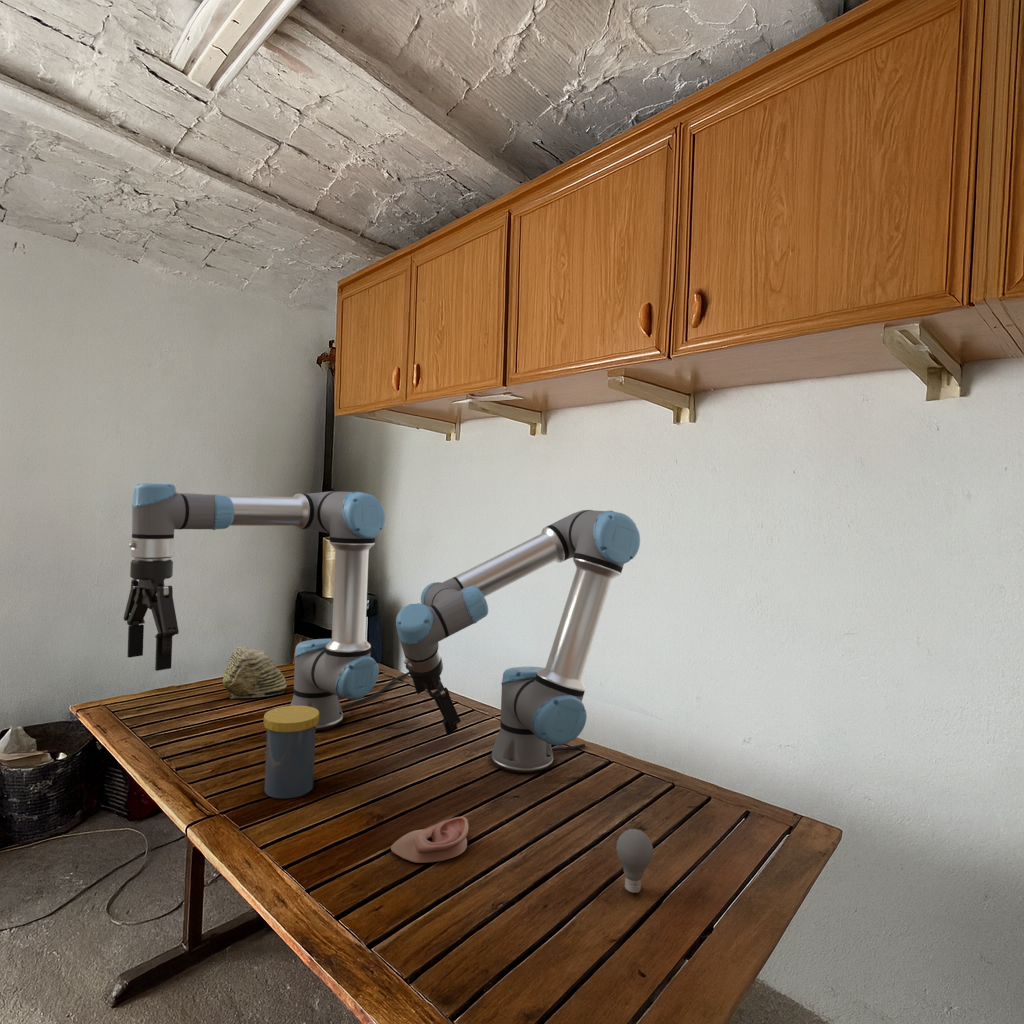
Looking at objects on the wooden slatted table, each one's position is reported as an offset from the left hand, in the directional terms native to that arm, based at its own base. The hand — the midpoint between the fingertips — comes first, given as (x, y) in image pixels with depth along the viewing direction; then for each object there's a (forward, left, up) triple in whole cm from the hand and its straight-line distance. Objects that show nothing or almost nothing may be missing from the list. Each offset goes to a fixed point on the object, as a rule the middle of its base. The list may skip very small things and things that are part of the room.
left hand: (148, 662), depth 129 cm
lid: (-23, +16, -12) cm, 31 cm away
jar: (-23, +16, -28) cm, 40 cm away
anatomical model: (-27, +56, -28) cm, 68 cm away
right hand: (-53, +30, -15) cm, 63 cm away
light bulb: (-41, +90, -28) cm, 103 cm away
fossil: (-50, -47, -28) cm, 74 cm away
